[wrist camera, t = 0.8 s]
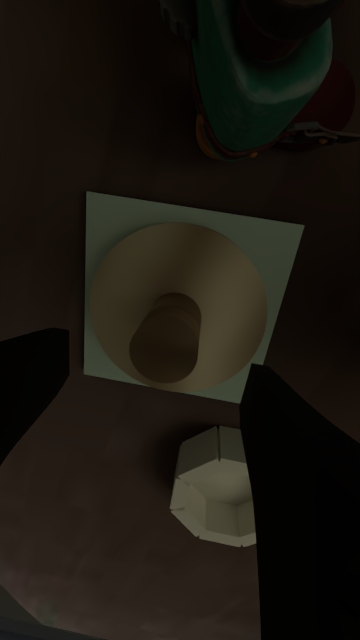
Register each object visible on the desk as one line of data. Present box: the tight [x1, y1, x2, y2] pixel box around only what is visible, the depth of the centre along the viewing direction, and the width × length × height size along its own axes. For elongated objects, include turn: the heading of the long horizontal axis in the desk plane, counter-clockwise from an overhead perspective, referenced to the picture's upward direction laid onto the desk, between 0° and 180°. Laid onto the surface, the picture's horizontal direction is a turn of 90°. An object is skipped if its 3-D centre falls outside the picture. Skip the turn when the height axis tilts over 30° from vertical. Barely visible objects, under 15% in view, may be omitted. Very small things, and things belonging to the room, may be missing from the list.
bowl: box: [170, 426, 256, 547], centre depth 21 cm, size 8×8×3 cm
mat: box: [84, 191, 305, 403], centre depth 17 cm, size 12×12×1 cm
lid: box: [89, 222, 268, 392], centre depth 14 cm, size 10×10×6 cm
